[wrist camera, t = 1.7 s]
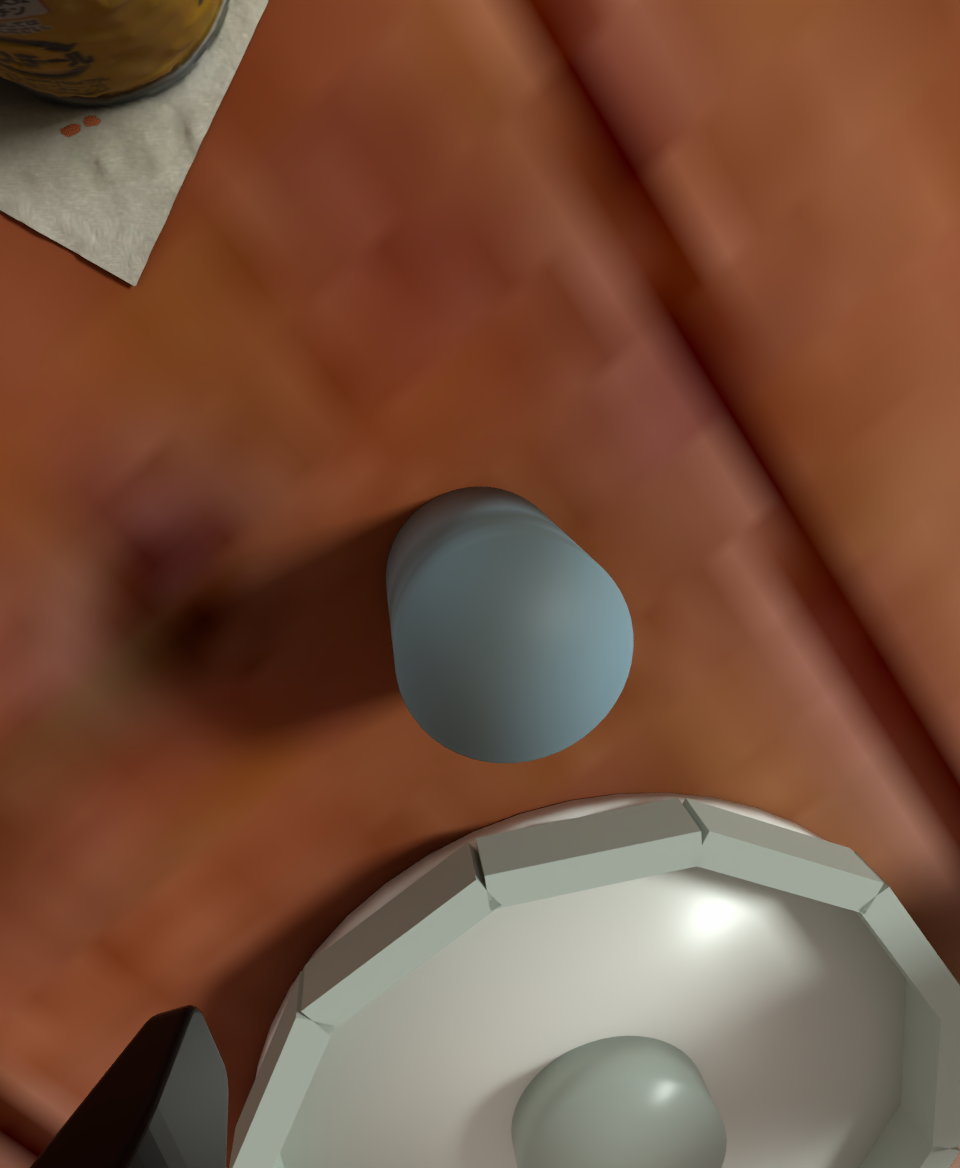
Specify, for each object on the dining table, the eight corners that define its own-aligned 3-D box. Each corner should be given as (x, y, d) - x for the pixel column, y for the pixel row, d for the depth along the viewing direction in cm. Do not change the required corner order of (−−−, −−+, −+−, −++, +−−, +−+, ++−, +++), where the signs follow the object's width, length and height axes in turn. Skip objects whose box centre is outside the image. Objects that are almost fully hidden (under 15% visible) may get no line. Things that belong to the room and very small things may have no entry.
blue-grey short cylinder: (594, 524, 19) (672, 585, 14) (523, 683, 20) (574, 789, 15) (425, 458, 18) (449, 500, 13) (359, 629, 19) (358, 724, 14)
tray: (1034, 894, 25) (1100, 947, 22) (733, 1355, 29) (763, 1436, 27) (405, 697, 20) (411, 742, 17) (159, 1292, 24) (140, 1387, 22)
